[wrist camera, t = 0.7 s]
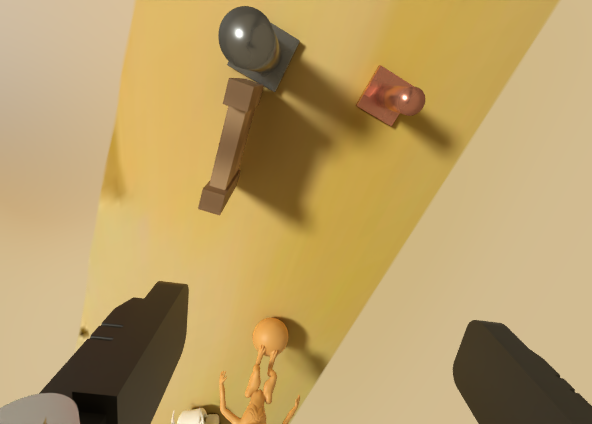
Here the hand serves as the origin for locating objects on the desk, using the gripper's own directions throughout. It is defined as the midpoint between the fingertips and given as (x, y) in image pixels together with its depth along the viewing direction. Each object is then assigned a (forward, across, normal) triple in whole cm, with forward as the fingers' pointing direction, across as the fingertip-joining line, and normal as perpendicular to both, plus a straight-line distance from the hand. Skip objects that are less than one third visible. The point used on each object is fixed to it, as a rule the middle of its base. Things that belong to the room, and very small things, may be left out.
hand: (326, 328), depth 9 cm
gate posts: (+22, 0, -9) cm, 23 cm away
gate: (+21, +6, -3) cm, 22 cm away
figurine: (+24, +1, +19) cm, 31 cm away
